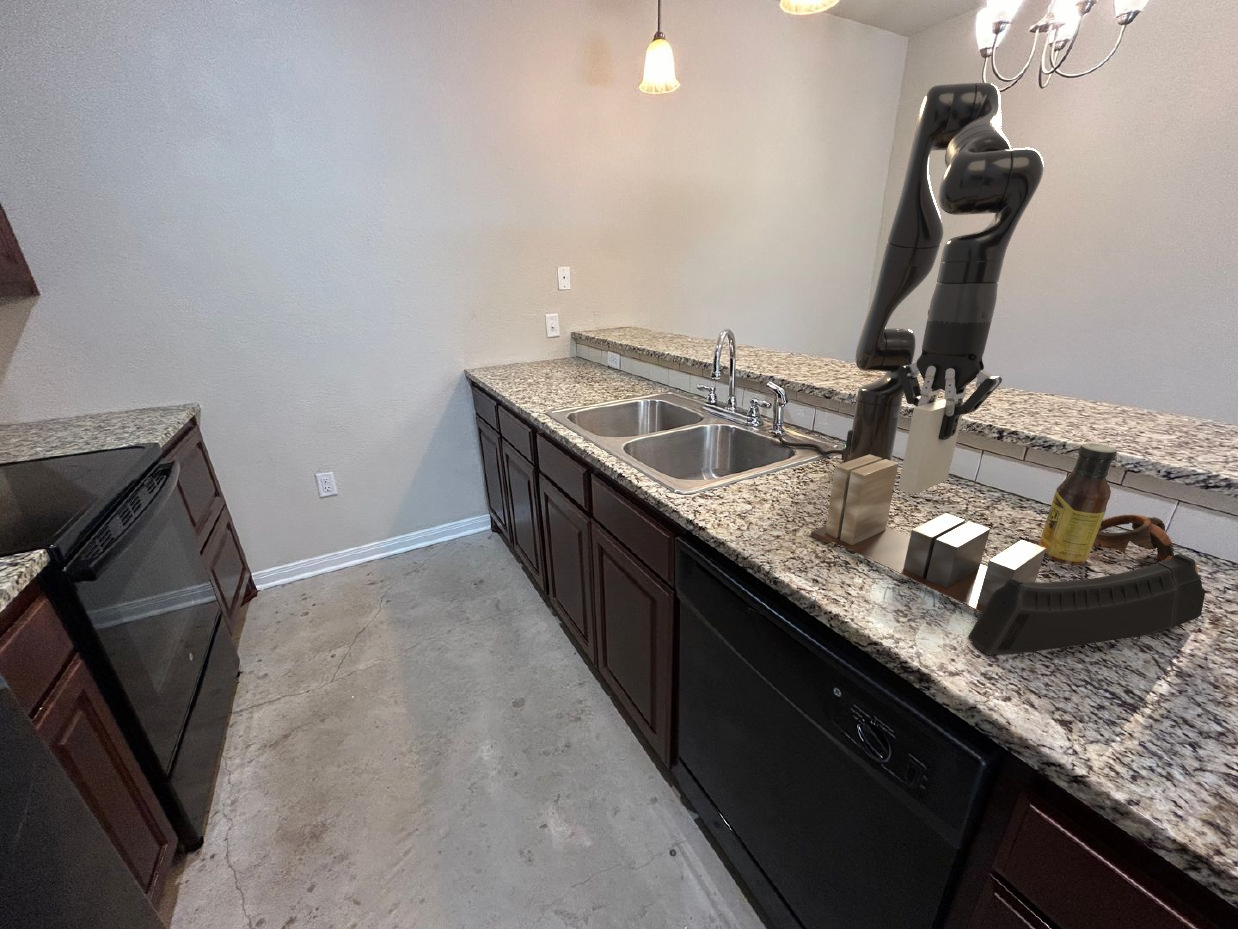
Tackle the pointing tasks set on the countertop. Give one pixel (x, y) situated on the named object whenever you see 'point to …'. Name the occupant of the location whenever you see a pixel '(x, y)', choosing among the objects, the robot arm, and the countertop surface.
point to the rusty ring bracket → (1136, 535)
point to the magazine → (1089, 608)
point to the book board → (919, 538)
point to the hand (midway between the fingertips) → (933, 435)
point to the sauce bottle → (1079, 507)
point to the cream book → (927, 449)
